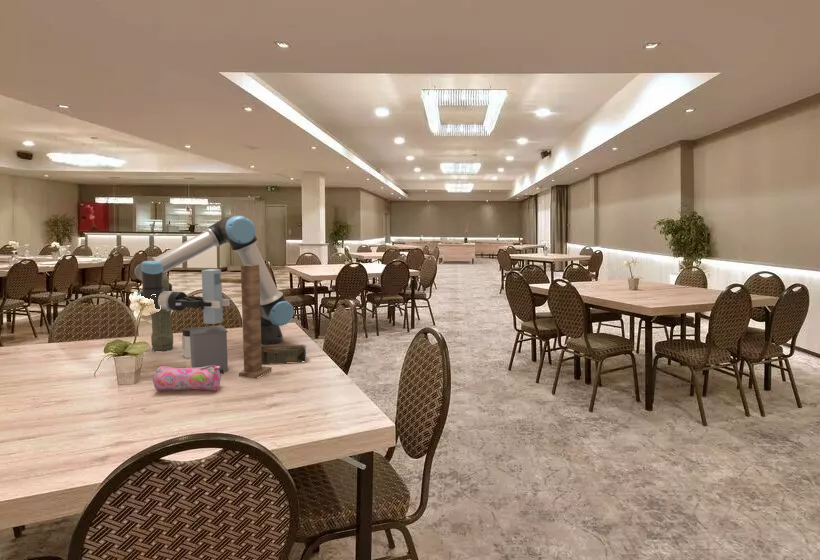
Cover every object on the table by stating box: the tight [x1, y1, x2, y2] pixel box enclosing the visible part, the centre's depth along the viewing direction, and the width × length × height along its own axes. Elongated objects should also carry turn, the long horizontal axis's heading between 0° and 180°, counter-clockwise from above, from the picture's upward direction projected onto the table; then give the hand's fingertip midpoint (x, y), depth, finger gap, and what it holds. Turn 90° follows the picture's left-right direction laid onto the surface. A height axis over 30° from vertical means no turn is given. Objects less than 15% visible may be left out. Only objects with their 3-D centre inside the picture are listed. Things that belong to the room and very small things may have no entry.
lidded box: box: [188, 325, 229, 372], centre depth 199 cm, size 13×13×16 cm
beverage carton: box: [261, 344, 307, 365], centre depth 211 cm, size 8×19×7 cm, turn 100°
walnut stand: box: [219, 264, 273, 378], centre depth 193 cm, size 18×10×42 cm, turn 75°
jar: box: [181, 326, 198, 359], centre depth 219 cm, size 9×8×12 cm
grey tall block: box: [201, 268, 224, 325], centre depth 195 cm, size 5×5×21 cm
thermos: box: [150, 272, 174, 352], centre depth 229 cm, size 9×12×35 cm
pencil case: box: [152, 365, 225, 392], centre depth 174 cm, size 21×9×9 cm, turn 95°
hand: (224, 303), depth 194 cm, fingers closed on grey tall block, 5 cm apart
